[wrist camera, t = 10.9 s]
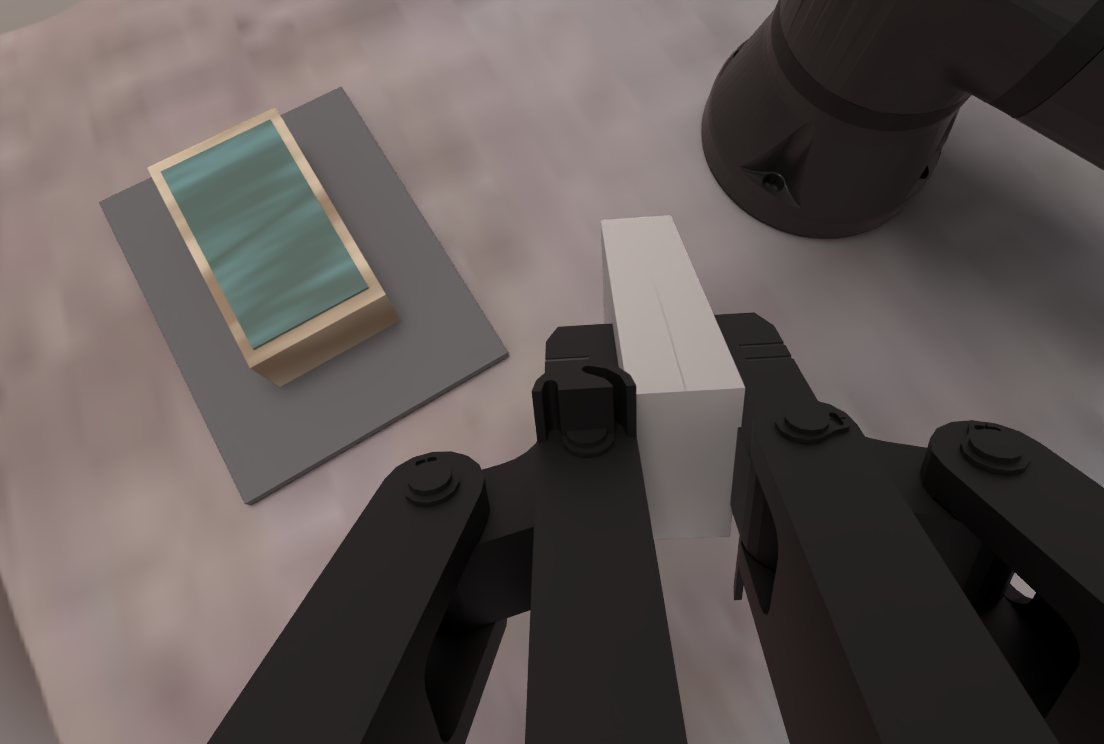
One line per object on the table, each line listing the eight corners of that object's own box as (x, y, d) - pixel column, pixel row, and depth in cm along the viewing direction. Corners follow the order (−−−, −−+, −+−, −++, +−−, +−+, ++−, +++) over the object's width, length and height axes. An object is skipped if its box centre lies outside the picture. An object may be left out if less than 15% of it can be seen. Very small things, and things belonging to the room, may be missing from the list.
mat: (508, 355, 39) (508, 352, 38) (251, 504, 36) (244, 503, 36) (344, 94, 44) (341, 86, 43) (106, 208, 41) (98, 202, 40)
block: (384, 293, 35) (273, 104, 38) (248, 367, 33) (145, 165, 36) (401, 320, 39) (299, 148, 42) (279, 387, 37) (184, 204, 40)
